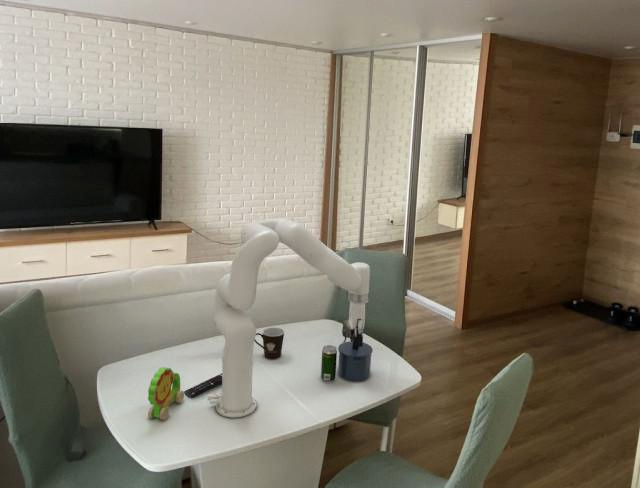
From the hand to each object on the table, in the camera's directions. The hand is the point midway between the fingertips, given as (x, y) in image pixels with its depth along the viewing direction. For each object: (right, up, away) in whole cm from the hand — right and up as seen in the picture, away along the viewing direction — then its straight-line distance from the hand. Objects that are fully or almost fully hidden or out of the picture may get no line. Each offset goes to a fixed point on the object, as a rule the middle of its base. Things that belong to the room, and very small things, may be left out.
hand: (356, 340), depth 194 cm
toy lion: (-61, -14, -29) cm, 69 cm away
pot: (-1, -13, +2) cm, 13 cm away
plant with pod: (-1, -10, +24) cm, 27 cm away
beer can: (-10, -13, -4) cm, 17 cm away
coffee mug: (-34, -10, +14) cm, 38 cm away
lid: (0, -4, 0) cm, 4 cm away
